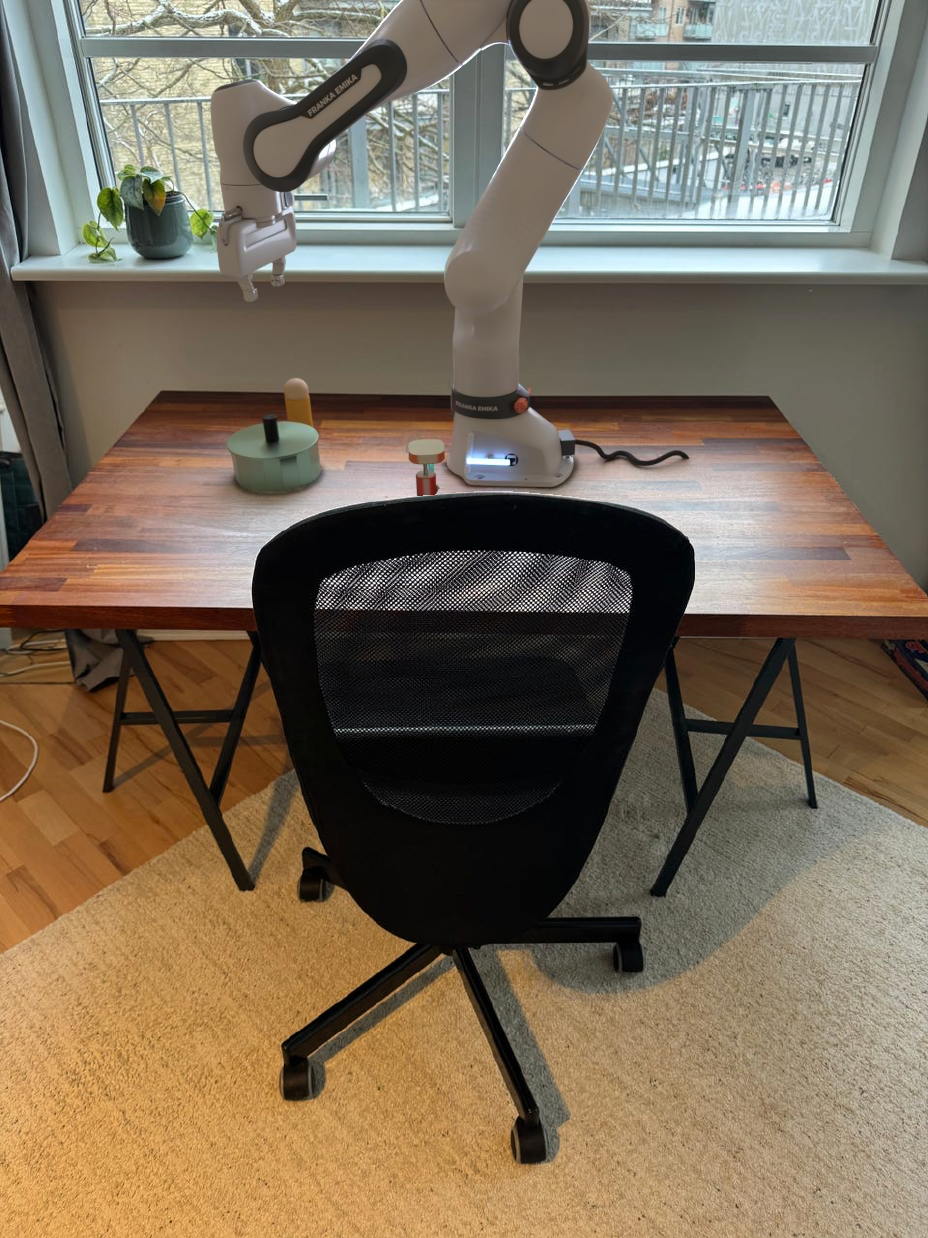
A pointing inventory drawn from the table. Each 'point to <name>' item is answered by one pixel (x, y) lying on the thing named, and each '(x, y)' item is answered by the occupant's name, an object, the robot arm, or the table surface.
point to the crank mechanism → (426, 454)
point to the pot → (278, 472)
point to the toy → (298, 402)
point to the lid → (272, 440)
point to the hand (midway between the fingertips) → (265, 292)
